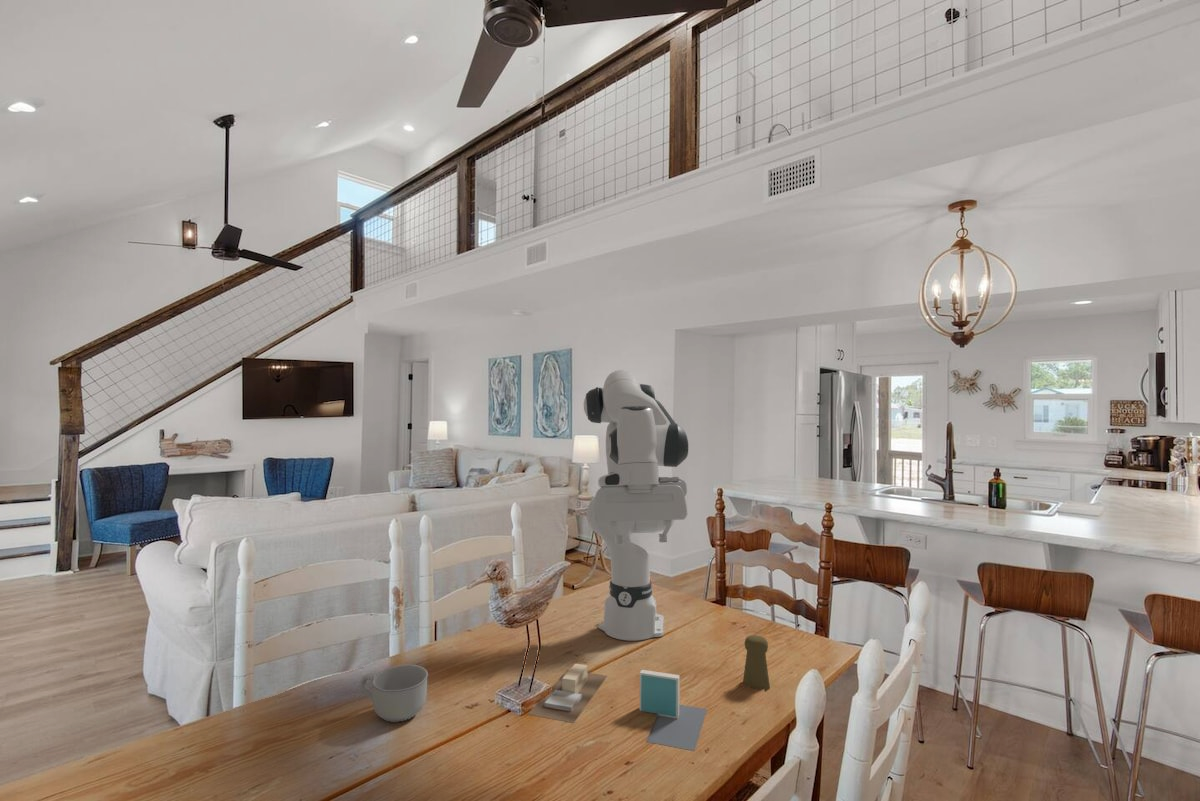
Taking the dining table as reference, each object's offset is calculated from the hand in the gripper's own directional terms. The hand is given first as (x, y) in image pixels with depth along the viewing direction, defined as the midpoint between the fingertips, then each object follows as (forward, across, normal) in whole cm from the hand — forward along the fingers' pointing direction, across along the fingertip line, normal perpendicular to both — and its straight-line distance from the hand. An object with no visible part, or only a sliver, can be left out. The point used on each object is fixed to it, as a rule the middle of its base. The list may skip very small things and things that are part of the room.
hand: (641, 543), depth 125 cm
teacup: (+33, +52, -3) cm, 62 cm away
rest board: (+33, +16, -9) cm, 38 cm away
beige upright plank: (+32, +16, -9) cm, 37 cm away
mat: (+35, -1, +1) cm, 35 cm away
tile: (+34, -2, -2) cm, 34 cm away
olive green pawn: (+33, -26, -16) cm, 45 cm away
